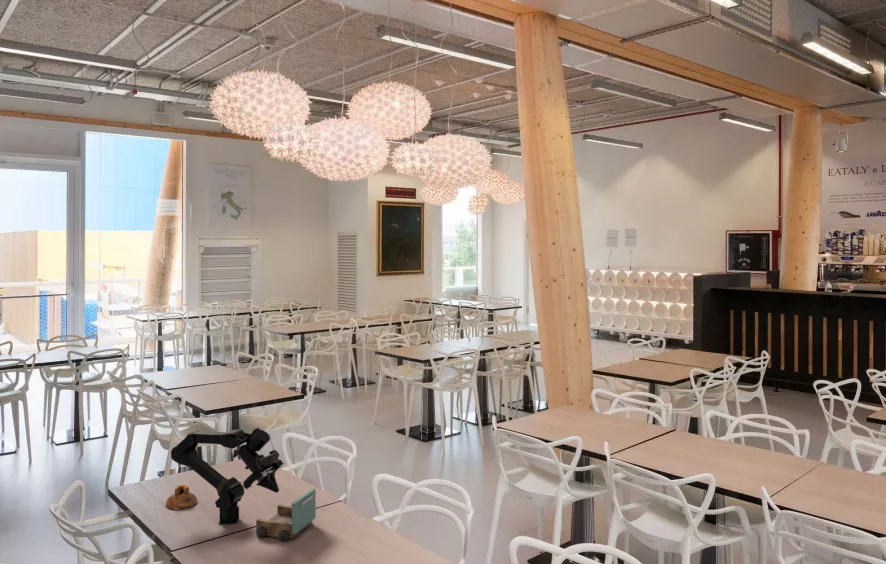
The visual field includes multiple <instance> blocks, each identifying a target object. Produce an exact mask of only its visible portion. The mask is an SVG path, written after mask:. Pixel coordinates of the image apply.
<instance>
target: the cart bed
mask: <svg viewBox="0 0 886 564" xmlns="http://www.w3.org/2000/svg"><path fill="white" fill-rule="evenodd" d="M276 507H277V509H276V510H277V511H276V514H274V515H273V516H272V517H271V518H269V519H262V518H258V519H256V525H255V527H256V529H255V530H256V532H255V534H256V536H257V537H258V538H260V539H261V538H264V537H265V536H267V537H272V538H278V539H279V540H280V541H281V542H286V541H287V540H290V541H291V540H293V539H294V538H295V537H296V536H298V534H300V533H301V532H302V531H304V530H305V529H306V528H307V527H309V526H310V525H311V524H312V523H313V520H312V521H311V522H310V523H308V524H307V525H306V526H305V527H303V528H302V529H301V530H300V531H298V532H297V533H296V534H292V505H285V504H284V505H283V504H278V505H277V506H276Z"/></svg>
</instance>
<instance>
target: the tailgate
mask: <svg viewBox="0 0 886 564" xmlns="http://www.w3.org/2000/svg"><path fill="white" fill-rule="evenodd" d="M316 503H317V502H316V488H311V489H310V490H308V491H307V492H306V493H304V494H303V495H301V496H299V497H298V498H297V499H295V500H294V501H293V502H292V503H291V506H292V534H296V533H297V532H298V531H300V530H301V529H302V528H303V527H305V526H306V525H307V524H308V523H310V522H311V521H312V522H313V521H314V520H316V516H317V514H316V510H317V509H316V507H317V505H316Z"/></svg>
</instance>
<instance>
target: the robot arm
mask: <svg viewBox="0 0 886 564" xmlns="http://www.w3.org/2000/svg"><path fill="white" fill-rule="evenodd" d="M270 440H271V436H270V434H269V433H268V432H267V431H266V430H263V429H260V428H259V427H256V428H254V429H253V430H252V432H251V433H249V432H246V431H244V430H243V429H241V428H240V429H233V430H228V431H223V432H221V431H219V432H218V431H200V430H195V431H192V432H189V433H188V434H187V435H186V436H185V437H184V439H182V440H181V441H180V442H178V444H176V446H174V447H172V448H171V451H170V458H171V460H172V461H174V462H175V463H177V464H179V465H181V466H186V467H189V468H190V469H191V470H193V471H194V472H195V473H196V474H197V475H199V476H200V477H201V478H203V480H205V482H207V483H208V484H209V485H211V486H212V487H213V488H214V489H215V490H216V492H217V495H218V497H219V498H217V500H216V501H215V502H214V504H215V506H216V508H218V509H219V519H218V520H219V521H218V524H219V525H222V524H223V525H224V524H225V525H226V524H236V523H238V520H239V519H240V506H239V502H240V501H242V498H243V496H244V495H245V490H249V489H250V488H252V485H253V483H255V482H256V481H257V483H256V485H255V486H257V487H258V486H260V487H262V488H264V489H267V490H270V491H271V492H273V493H276V494H277V493H279V491H280V488H279V485H278V483H277V480H276V473H277V471H278V470H280V468H281V467H282V466H283V465H284V462H283V461H282V460H281V459H279V457H280V453H279V452H278V451H277V450H276V449H273V450H271V451H269V454H267V455H266V456H265V455H264V454H259V453H258V452H260V451H261V450H262V449H263V448H264V447H265V446H266V445H267V444H268V443H269V441H270ZM199 444H207V445H208V444H209V445H221V446H222V447H223V448H227V449H234V450H233V455H232V458H233V459H235V458H237V457H239V458H240V460H241V461H242V462H243V463H244V464H245V467H244V469H245V470H246V471H247V470H249V471H250V472H251V474H250V475H248V476H247V478H245V479H244V481H243V482H241V481H239V480H238V479H237V478H236V477H235V476H232V477H230V478H226V477H225V476H224V475H223V474H221V473H220V472H219V471H217V470H216V469H215V468H214V467H213V466H212V465H210V464H209V463H207V462H206V461H205V460H204V459H202V457H200V455H199V453H198V450H197V447H198V446H199ZM237 447H238V448H237ZM235 448H236V449H235ZM242 483H243V484H242Z"/></svg>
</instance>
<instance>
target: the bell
mask: <svg viewBox="0 0 886 564" xmlns="http://www.w3.org/2000/svg"><path fill="white" fill-rule="evenodd" d="M197 502H198V499H197V496H196V495H195V494H194V493H191V492H190V488H189V485H187V484H179V485H177V486H176V487H175V488H174V493H173V494H171V495H170V496H169V497H168V498H167V499H166V501H165V507H166V508H167V509H170V508H172V509H171V510H181V509H180V508H184V509H187V507H188V508H191V507H193V506H195V505H196V504H197ZM194 504H195V505H194ZM190 506H191V507H190ZM175 508H177V509H175Z"/></svg>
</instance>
